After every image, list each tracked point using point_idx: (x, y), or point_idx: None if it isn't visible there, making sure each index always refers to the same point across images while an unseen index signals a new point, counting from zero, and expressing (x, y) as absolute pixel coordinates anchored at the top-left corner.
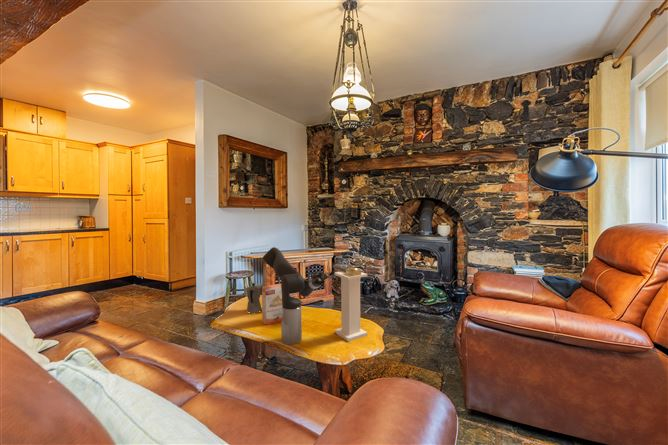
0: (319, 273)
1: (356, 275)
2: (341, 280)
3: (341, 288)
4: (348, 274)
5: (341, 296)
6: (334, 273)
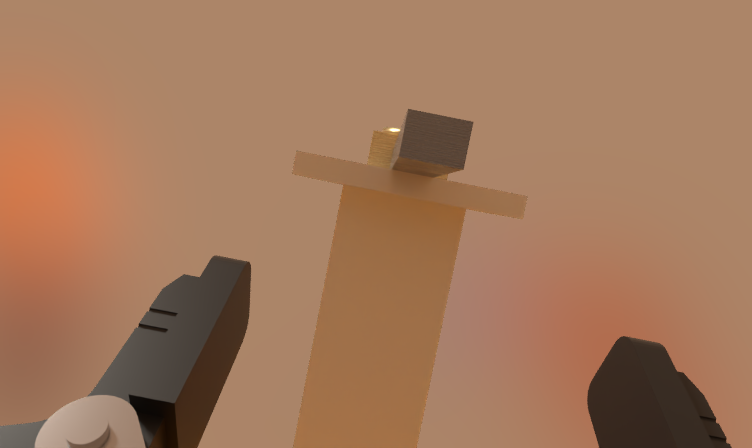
0: (700, 394)
1: None
2: (455, 255)
3: (440, 326)
4: None
5: (426, 397)
6: (525, 204)
